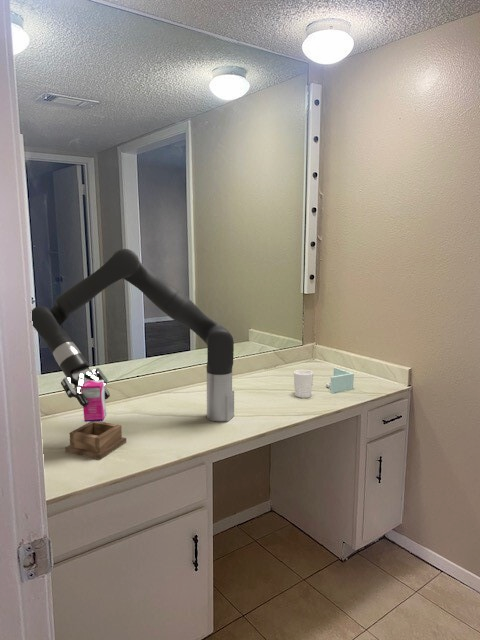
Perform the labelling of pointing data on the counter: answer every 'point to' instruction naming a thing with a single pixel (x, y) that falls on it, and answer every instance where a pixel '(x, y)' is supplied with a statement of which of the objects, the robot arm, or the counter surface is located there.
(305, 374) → the white cup
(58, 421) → the counter surface
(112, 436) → the post socket
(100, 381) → the supplement box
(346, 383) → the right angle wall
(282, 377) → the counter surface
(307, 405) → the counter surface
